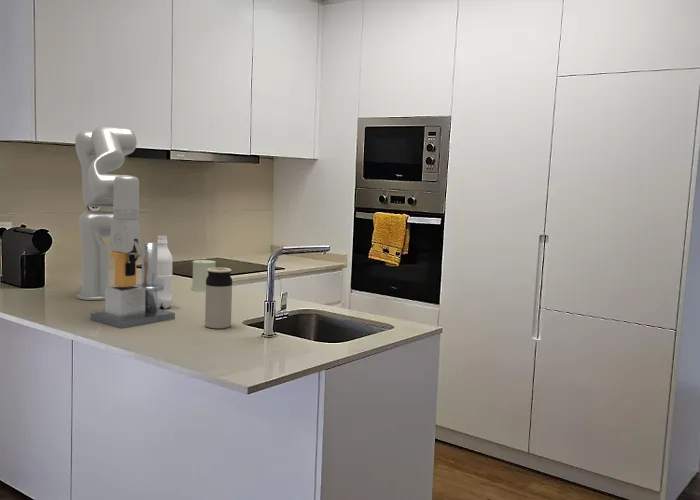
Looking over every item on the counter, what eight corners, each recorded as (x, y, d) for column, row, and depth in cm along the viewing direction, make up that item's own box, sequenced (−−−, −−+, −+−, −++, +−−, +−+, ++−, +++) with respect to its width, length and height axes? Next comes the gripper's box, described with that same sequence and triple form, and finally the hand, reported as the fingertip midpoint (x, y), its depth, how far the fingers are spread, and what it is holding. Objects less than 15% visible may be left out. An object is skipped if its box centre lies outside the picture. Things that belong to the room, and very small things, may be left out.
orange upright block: (109, 286, 213) (109, 252, 212) (132, 283, 219) (133, 250, 218) (117, 287, 210) (117, 253, 209) (140, 284, 217) (141, 251, 216)
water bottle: (176, 307, 241) (177, 235, 238) (164, 310, 234) (165, 237, 231) (158, 304, 243) (159, 234, 240) (146, 308, 236) (147, 235, 234)
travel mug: (218, 330, 209) (220, 271, 207) (199, 326, 213) (200, 268, 211) (236, 326, 216) (237, 269, 214) (217, 322, 220) (218, 266, 218)
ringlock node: (90, 319, 215) (90, 243, 213) (145, 311, 232) (145, 240, 229) (121, 328, 206) (122, 248, 203) (176, 318, 222) (177, 244, 220)
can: (187, 290, 275) (187, 260, 273) (200, 287, 283) (201, 258, 282) (206, 292, 271) (207, 262, 270) (219, 289, 280) (220, 260, 278)
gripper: (99, 214, 215) (99, 272, 217) (132, 218, 205) (131, 279, 207) (120, 214, 221) (119, 270, 223) (153, 217, 211) (152, 276, 213)
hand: (125, 274), depth 215 cm, fingers closed on orange upright block, 4 cm apart
